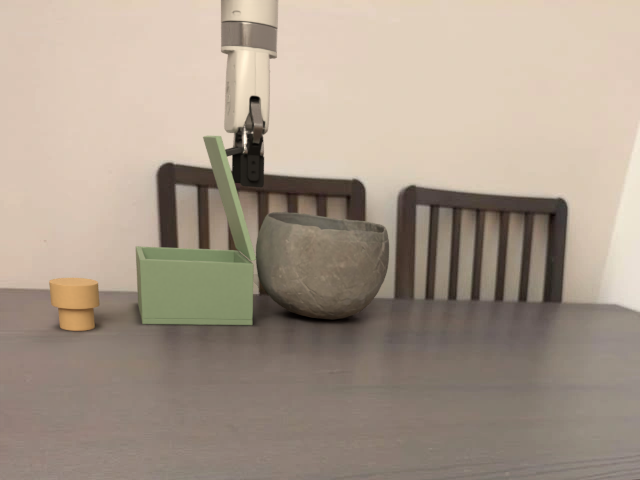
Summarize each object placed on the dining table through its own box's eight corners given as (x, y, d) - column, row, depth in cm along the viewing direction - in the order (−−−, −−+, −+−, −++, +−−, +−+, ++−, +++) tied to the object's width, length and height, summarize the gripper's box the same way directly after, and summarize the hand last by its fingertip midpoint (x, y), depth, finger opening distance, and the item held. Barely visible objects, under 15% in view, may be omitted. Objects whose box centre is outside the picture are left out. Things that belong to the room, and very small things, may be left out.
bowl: (251, 327, 106) (253, 218, 100) (256, 300, 125) (258, 207, 119) (390, 335, 109) (401, 229, 102) (375, 308, 127) (383, 217, 121)
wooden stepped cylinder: (44, 329, 95) (40, 282, 93) (66, 320, 101) (63, 276, 98) (88, 334, 95) (85, 287, 93) (108, 324, 100) (105, 280, 98)
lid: (215, 137, 96) (255, 126, 97) (202, 136, 107) (238, 127, 108) (251, 261, 104) (288, 250, 104) (235, 248, 115) (269, 238, 116)
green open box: (142, 324, 102) (139, 259, 99) (138, 304, 114) (135, 246, 111) (252, 325, 107) (253, 263, 104) (237, 306, 119) (238, 250, 115)
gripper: (212, 45, 105) (213, 179, 112) (231, 31, 90) (230, 187, 97) (264, 52, 107) (261, 183, 114) (290, 39, 92) (285, 190, 99)
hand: (247, 183), depth 105 cm, fingers open, 6 cm apart
